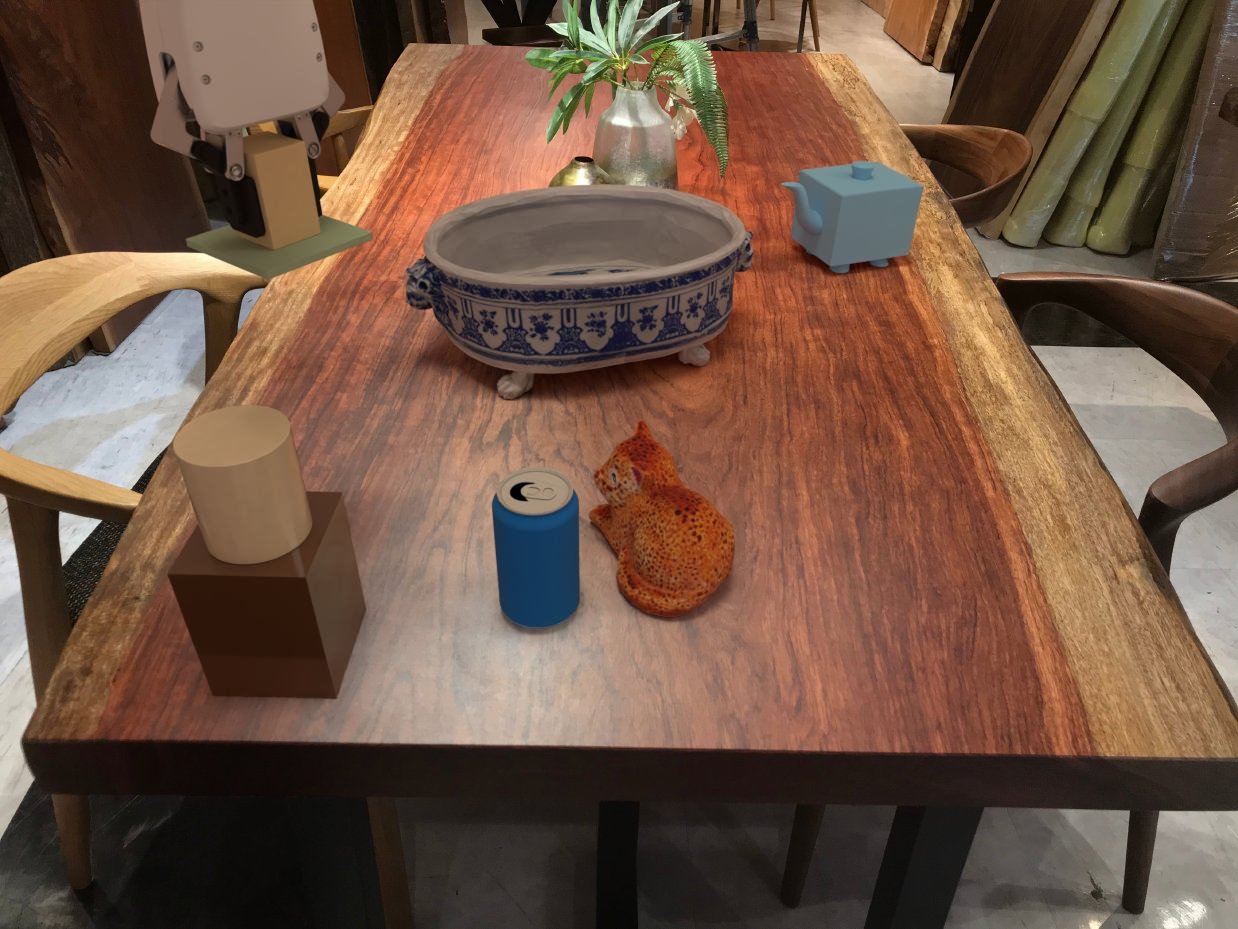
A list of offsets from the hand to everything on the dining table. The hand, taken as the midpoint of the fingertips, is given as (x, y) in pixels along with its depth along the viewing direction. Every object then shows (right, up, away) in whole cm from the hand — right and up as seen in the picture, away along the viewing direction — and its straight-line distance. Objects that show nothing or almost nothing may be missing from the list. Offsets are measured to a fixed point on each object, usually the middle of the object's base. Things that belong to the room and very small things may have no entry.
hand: (277, 219), depth 62 cm
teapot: (+56, +13, +69) cm, 90 cm away
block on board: (0, -1, +1) cm, 2 cm away
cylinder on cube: (-1, -31, +6) cm, 32 cm away
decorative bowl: (+20, -2, +47) cm, 51 cm away
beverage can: (+17, -29, +11) cm, 35 cm away
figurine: (+27, -25, +16) cm, 40 cm away
